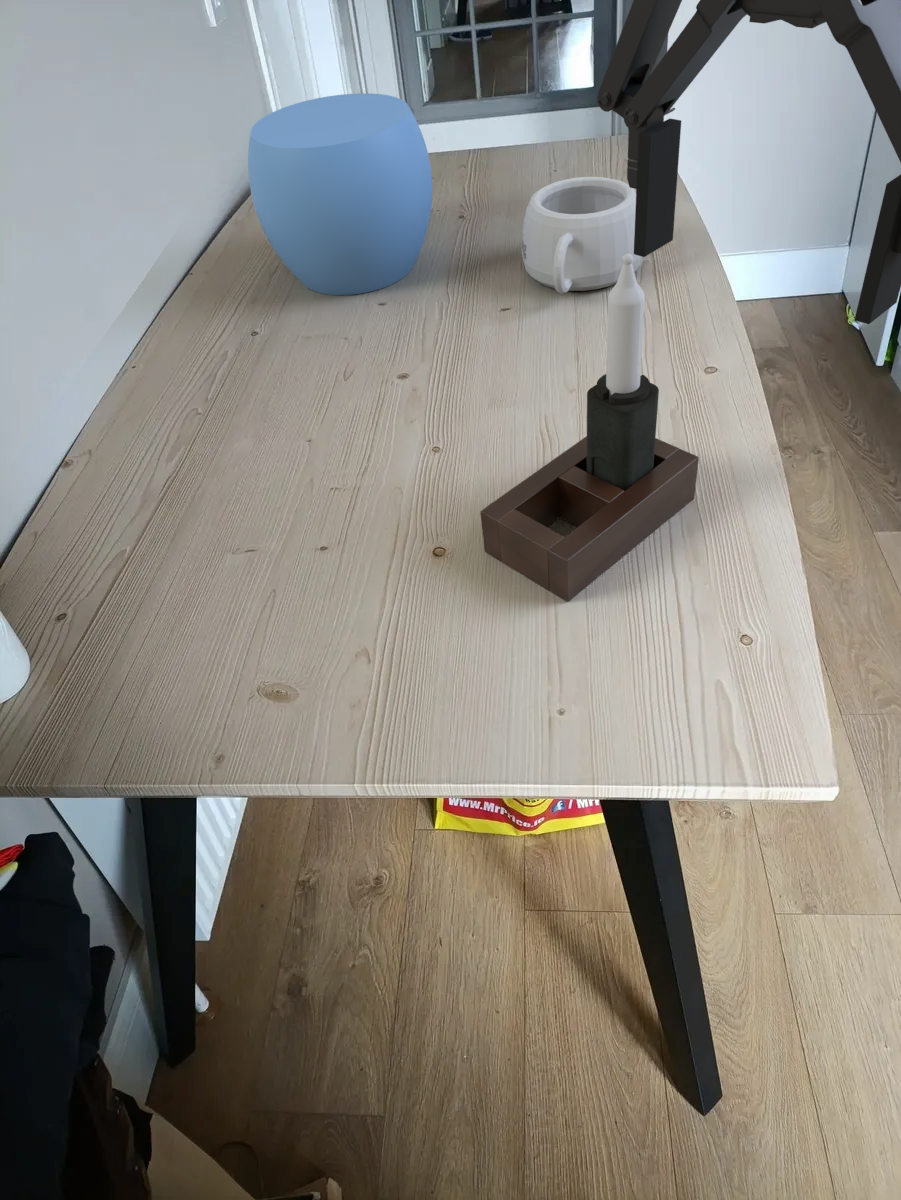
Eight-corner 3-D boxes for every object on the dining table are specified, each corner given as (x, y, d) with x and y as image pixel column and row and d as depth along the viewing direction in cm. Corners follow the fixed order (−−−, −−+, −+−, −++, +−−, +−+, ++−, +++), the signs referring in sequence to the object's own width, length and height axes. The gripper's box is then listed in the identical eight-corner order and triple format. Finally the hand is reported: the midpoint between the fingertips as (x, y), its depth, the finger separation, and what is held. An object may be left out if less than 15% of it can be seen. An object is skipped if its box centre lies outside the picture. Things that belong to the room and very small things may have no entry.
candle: (655, 501, 86) (675, 250, 68) (621, 527, 83) (632, 275, 66) (615, 481, 89) (623, 234, 71) (581, 505, 86) (581, 257, 69)
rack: (694, 498, 85) (699, 456, 82) (567, 602, 77) (566, 561, 74) (610, 459, 91) (611, 418, 88) (484, 551, 83) (480, 511, 80)
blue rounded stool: (429, 304, 120) (408, 145, 105) (255, 312, 124) (211, 160, 109) (450, 227, 137) (434, 82, 123) (296, 237, 141) (264, 97, 127)
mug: (541, 240, 130) (539, 169, 123) (655, 245, 125) (659, 172, 118) (496, 309, 117) (490, 234, 110) (621, 319, 111) (624, 241, 104)
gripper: (1273, -326, 27) (1028, 312, 42) (630, -255, 41) (617, 204, 56) (1186, -302, 24) (954, 380, 39) (520, -234, 38) (538, 248, 53)
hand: (755, 277), depth 48 cm, fingers open, 13 cm apart
